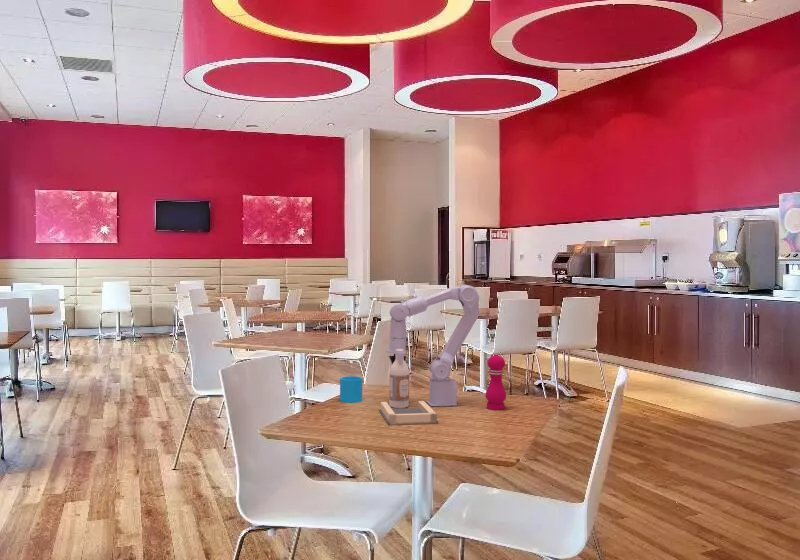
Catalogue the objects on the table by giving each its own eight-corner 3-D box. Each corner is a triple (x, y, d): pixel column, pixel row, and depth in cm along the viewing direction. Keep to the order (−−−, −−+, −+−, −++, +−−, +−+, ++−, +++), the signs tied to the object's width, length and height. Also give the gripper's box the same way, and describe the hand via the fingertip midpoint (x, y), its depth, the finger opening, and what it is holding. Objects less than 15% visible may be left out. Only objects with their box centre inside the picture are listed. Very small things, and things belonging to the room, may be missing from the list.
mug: (359, 403, 244) (360, 380, 244) (337, 402, 245) (337, 379, 245) (366, 396, 256) (366, 374, 256) (344, 395, 257) (345, 374, 257)
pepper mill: (505, 406, 241) (506, 349, 241) (506, 410, 234) (507, 352, 234) (484, 405, 242) (485, 349, 242) (485, 410, 235) (486, 352, 234)
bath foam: (396, 409, 234) (397, 352, 233) (385, 405, 240) (385, 349, 239) (412, 406, 238) (413, 350, 237) (401, 402, 244) (402, 347, 243)
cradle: (425, 409, 235) (425, 400, 235) (438, 423, 215) (438, 413, 215) (378, 410, 232) (379, 402, 232) (388, 425, 212) (388, 415, 212)
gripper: (383, 335, 249) (383, 372, 249) (389, 340, 234) (389, 379, 235) (402, 335, 250) (402, 372, 250) (410, 340, 236) (409, 379, 236)
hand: (397, 375), depth 243 cm, fingers closed
